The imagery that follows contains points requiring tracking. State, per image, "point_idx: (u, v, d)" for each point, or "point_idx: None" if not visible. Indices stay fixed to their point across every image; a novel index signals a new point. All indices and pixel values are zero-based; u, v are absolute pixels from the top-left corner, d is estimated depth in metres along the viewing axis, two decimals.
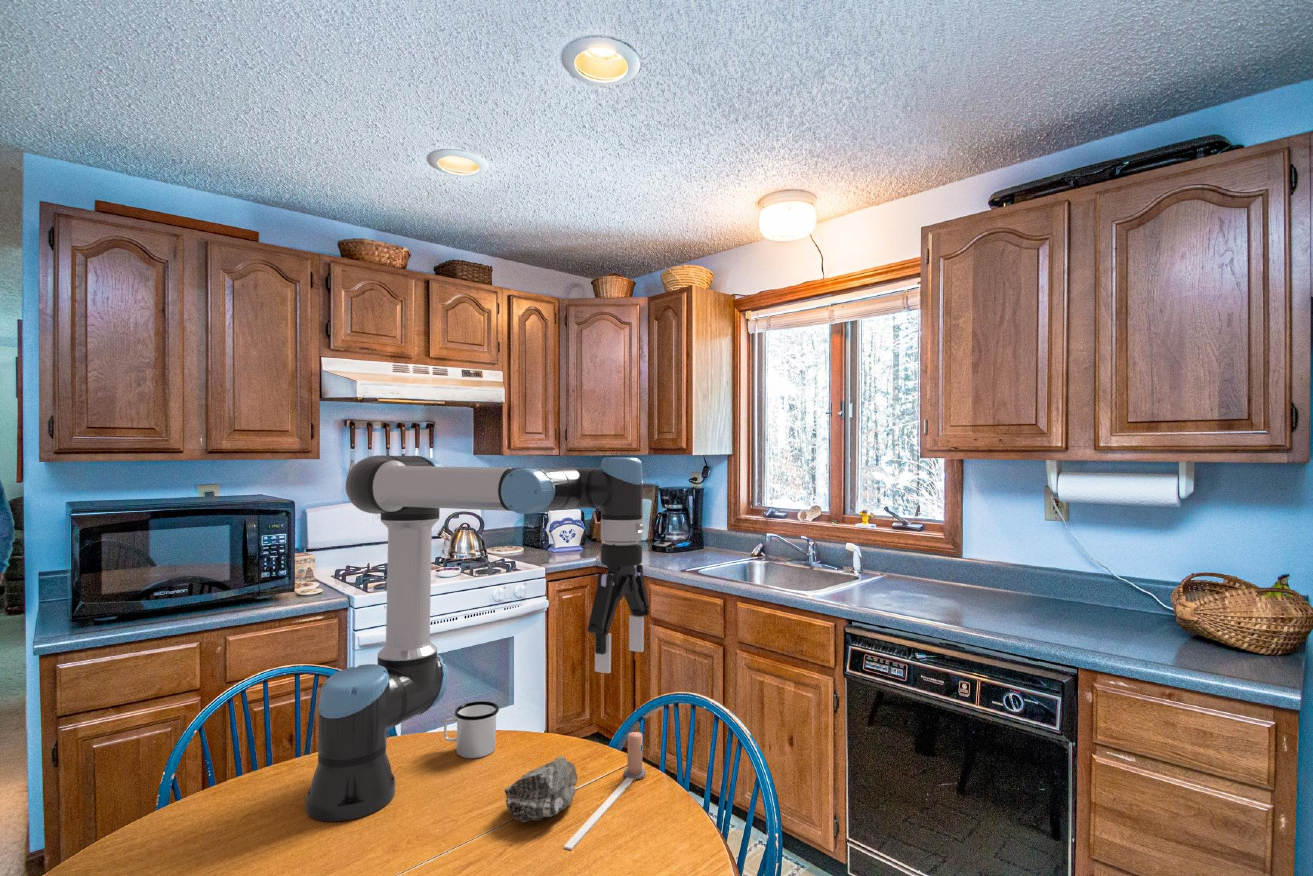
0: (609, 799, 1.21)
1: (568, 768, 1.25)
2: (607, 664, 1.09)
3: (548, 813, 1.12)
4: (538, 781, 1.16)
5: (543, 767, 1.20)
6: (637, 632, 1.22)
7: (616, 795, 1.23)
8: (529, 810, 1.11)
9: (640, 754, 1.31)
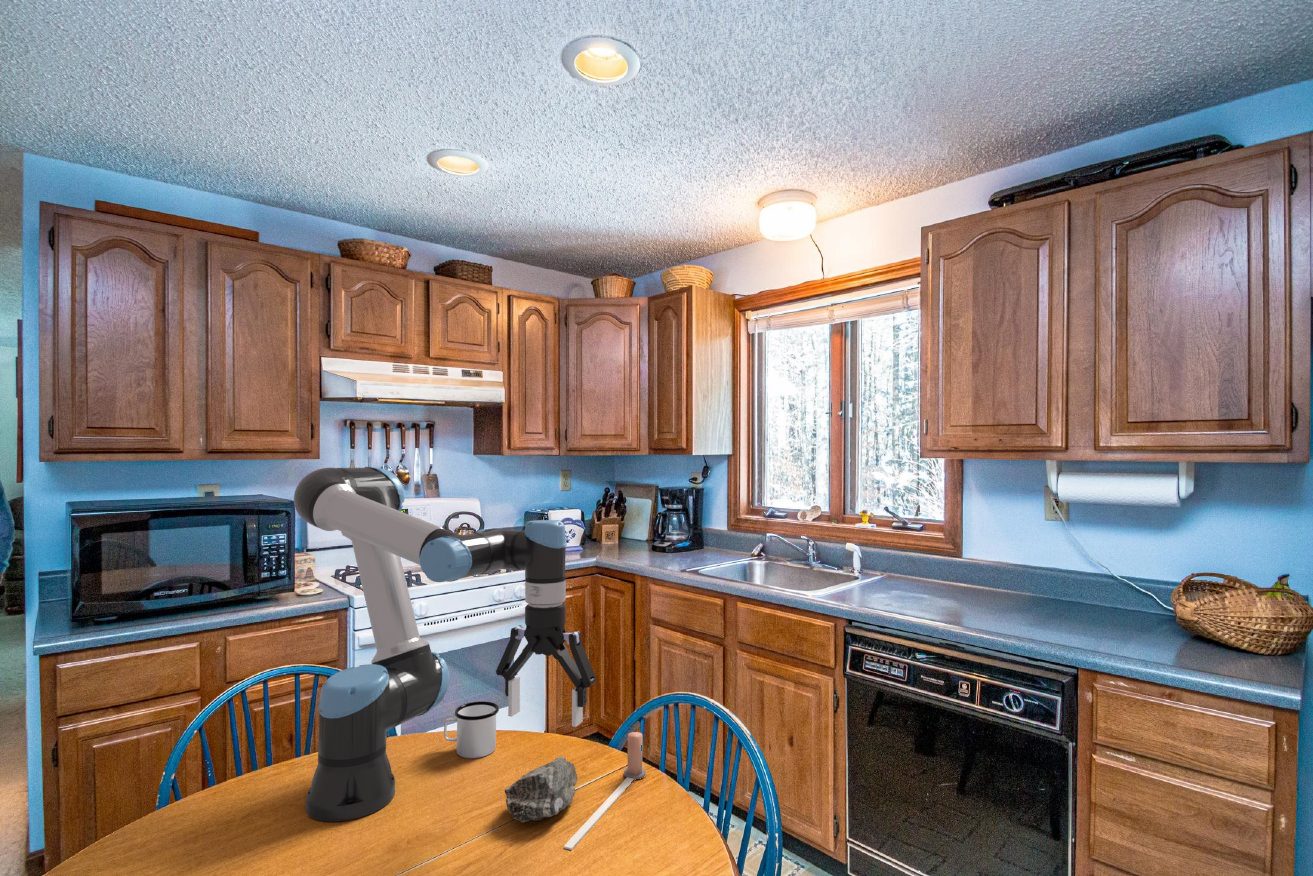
0: (609, 799, 1.21)
1: (568, 768, 1.25)
2: (508, 707, 1.22)
3: (548, 813, 1.12)
4: (538, 781, 1.16)
5: (543, 767, 1.20)
6: None
7: (616, 795, 1.23)
8: (529, 810, 1.11)
9: (640, 754, 1.31)
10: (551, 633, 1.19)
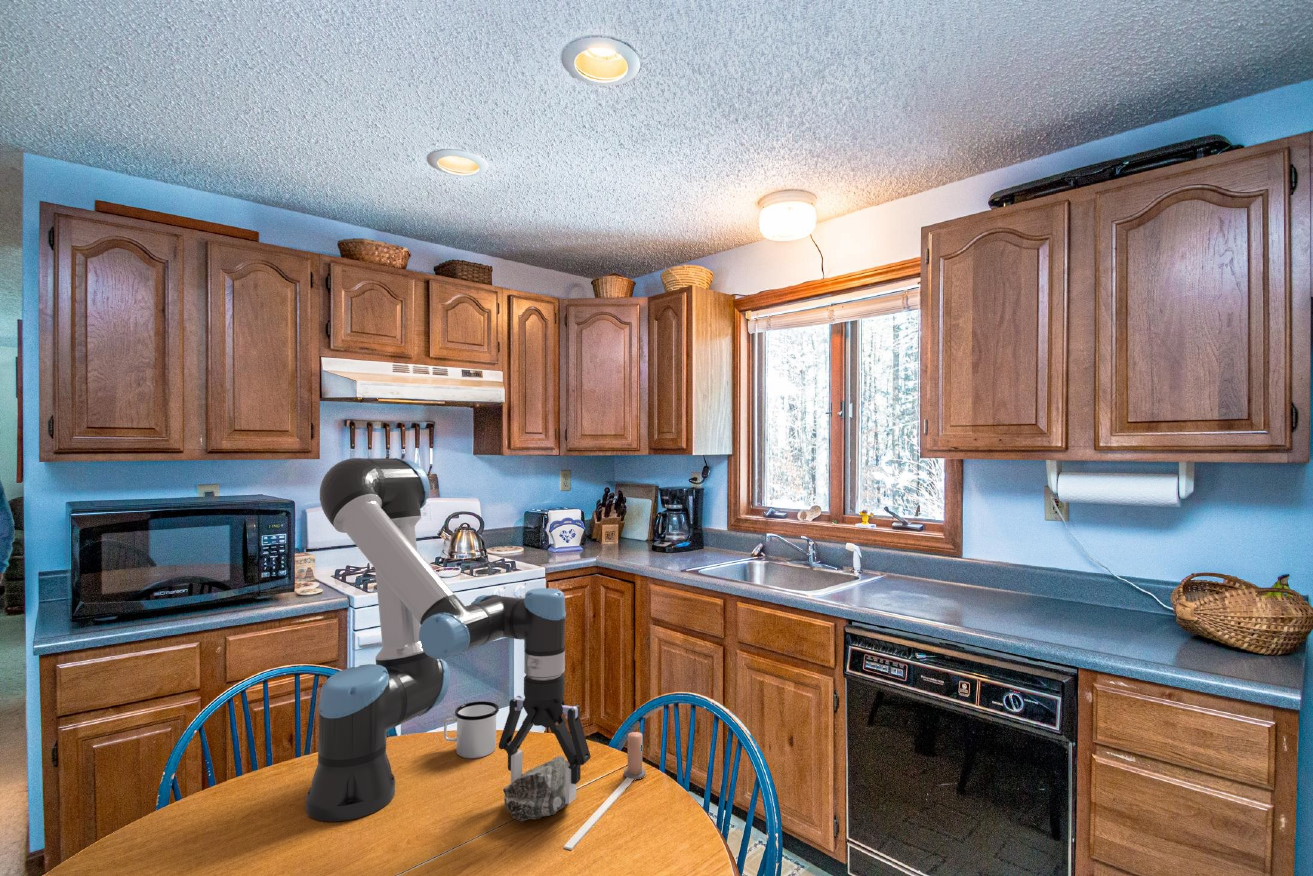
0: (609, 799, 1.21)
1: None
2: (511, 782, 1.21)
3: (546, 812, 1.12)
4: (536, 781, 1.16)
5: (542, 766, 1.20)
6: None
7: (616, 795, 1.23)
8: (527, 809, 1.11)
9: (640, 754, 1.31)
10: (550, 704, 1.19)
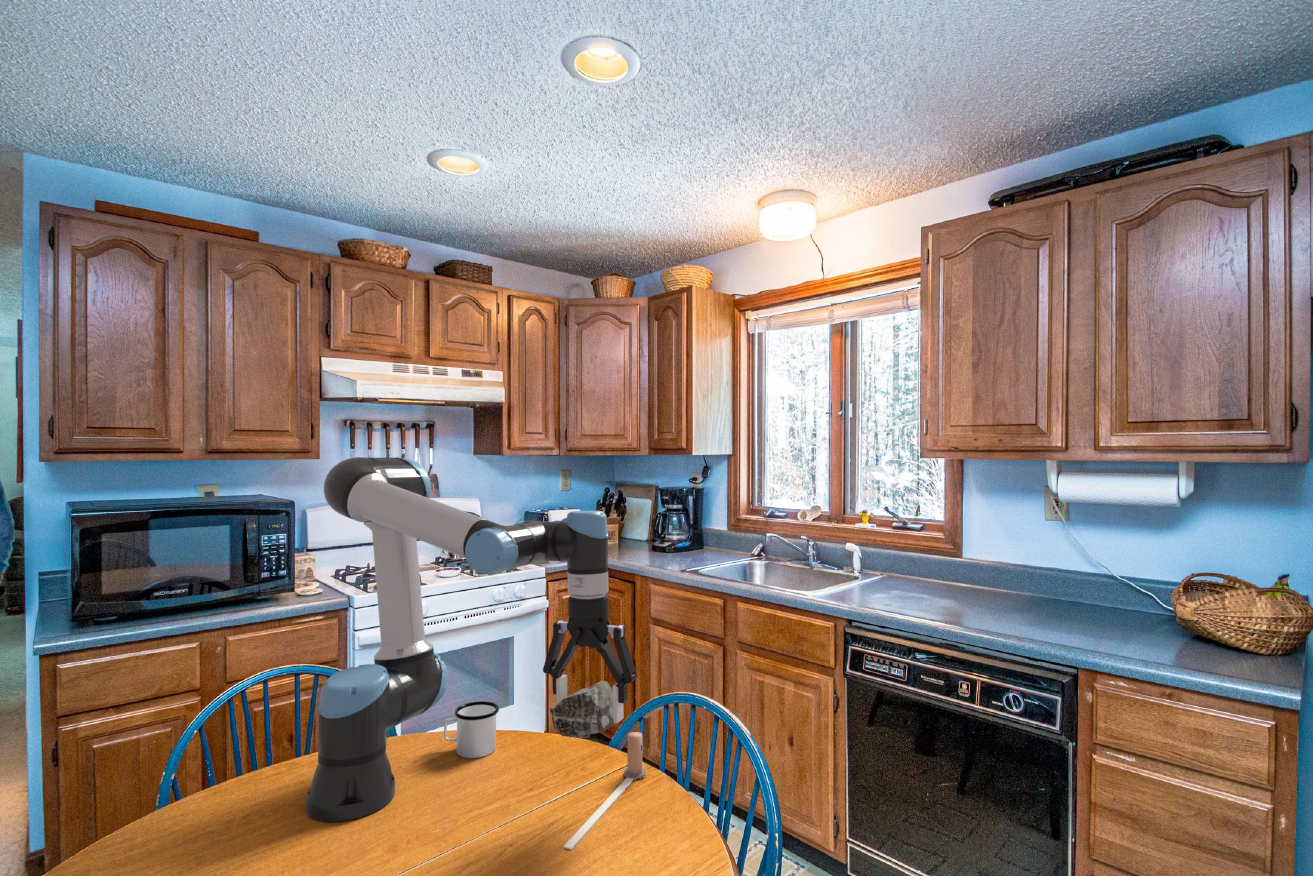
0: (609, 799, 1.21)
1: (611, 692, 1.24)
2: None
3: (596, 728, 1.10)
4: (583, 699, 1.14)
5: (587, 688, 1.19)
6: None
7: (616, 795, 1.23)
8: (576, 725, 1.10)
9: (640, 754, 1.31)
10: (595, 624, 1.17)
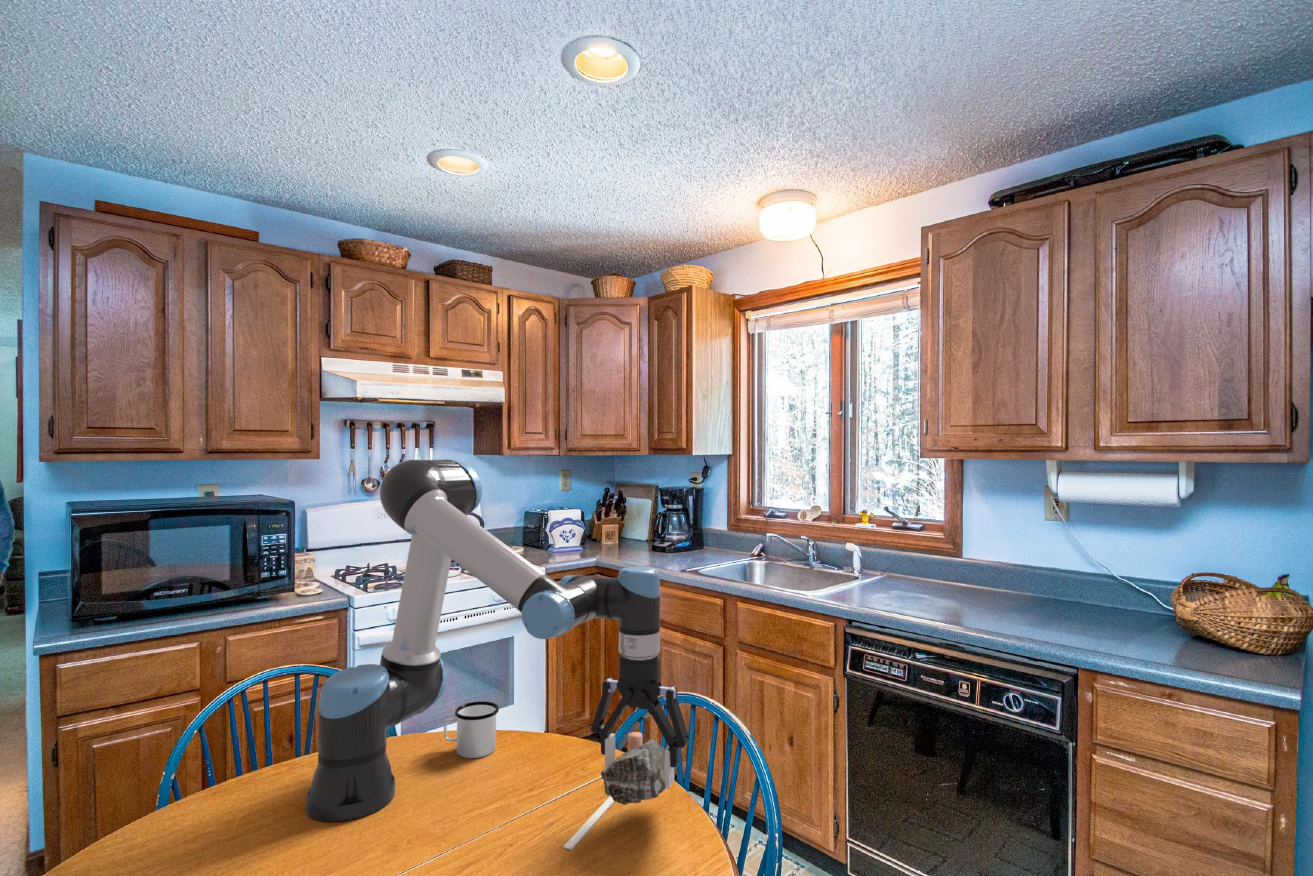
0: (609, 799, 1.21)
1: (659, 751, 1.22)
2: (605, 766, 1.17)
3: (650, 795, 1.08)
4: (635, 763, 1.12)
5: (637, 749, 1.17)
6: None
7: None
8: (630, 792, 1.08)
9: None
10: (647, 685, 1.15)
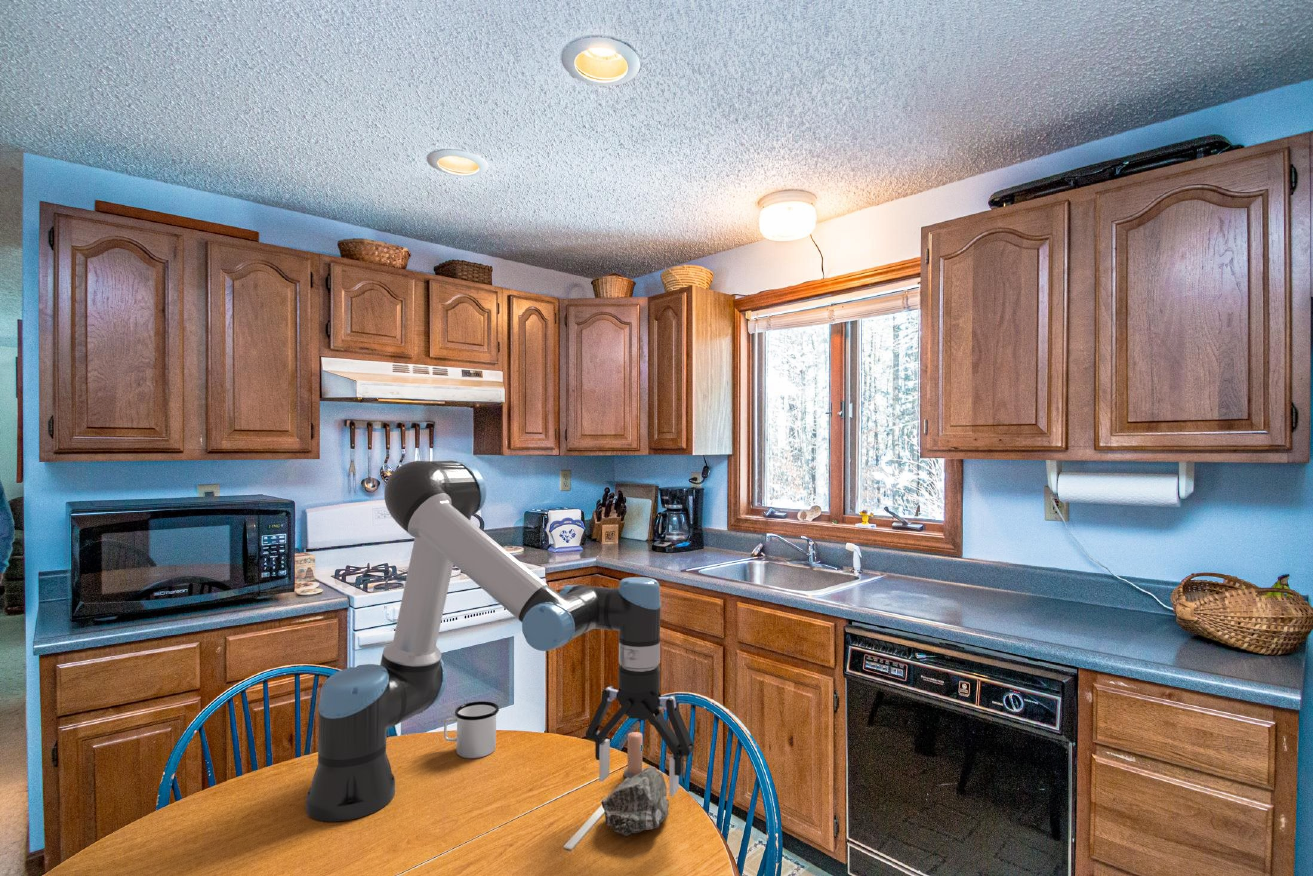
0: None
1: (658, 778, 1.22)
2: (599, 772, 1.18)
3: (651, 826, 1.08)
4: (636, 793, 1.12)
5: (637, 777, 1.16)
6: None
7: None
8: (632, 823, 1.07)
9: (640, 754, 1.31)
10: (646, 697, 1.15)
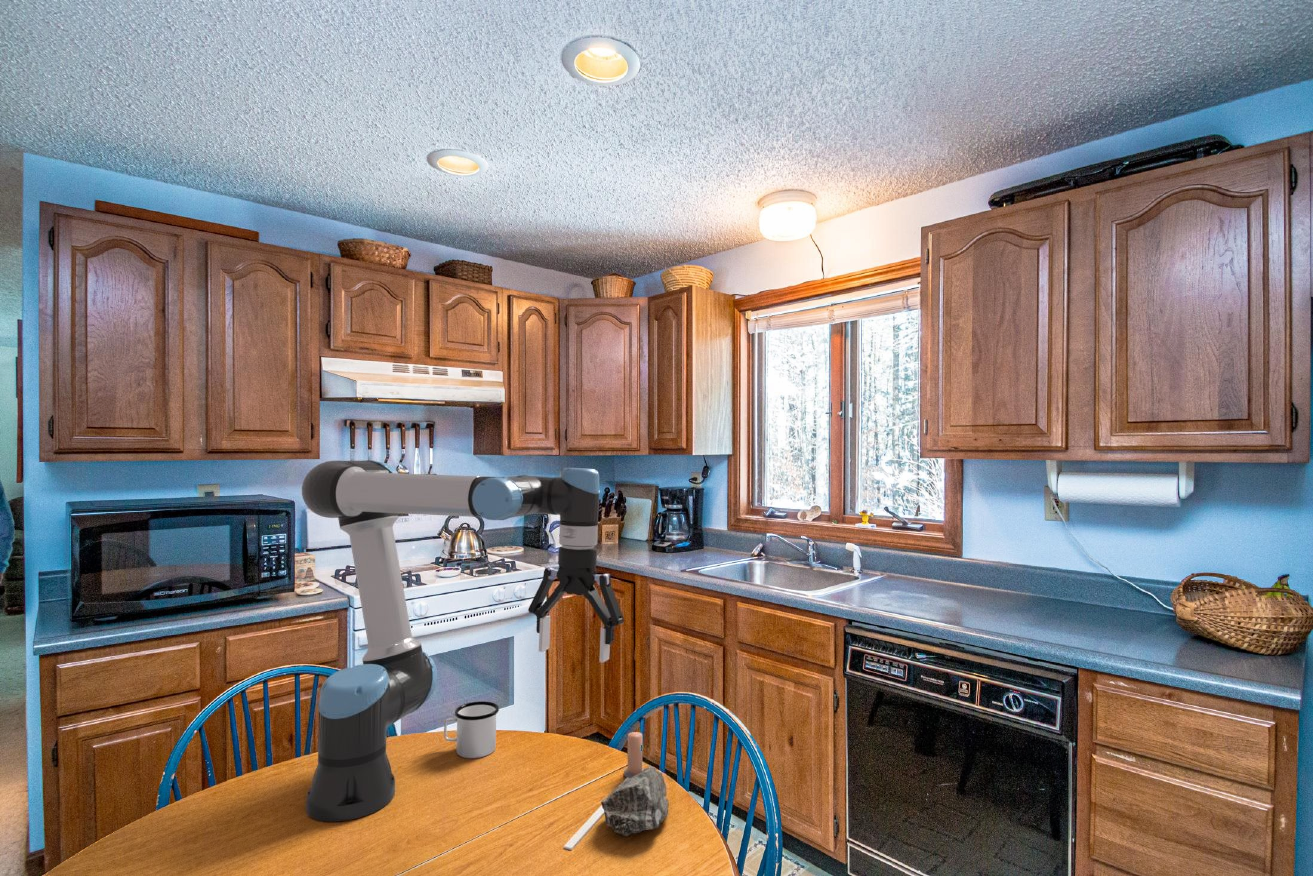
0: None
1: None
2: (539, 643, 1.28)
3: (651, 826, 1.08)
4: (636, 793, 1.12)
5: (637, 778, 1.17)
6: None
7: None
8: (631, 823, 1.07)
9: (640, 754, 1.31)
10: (582, 574, 1.25)
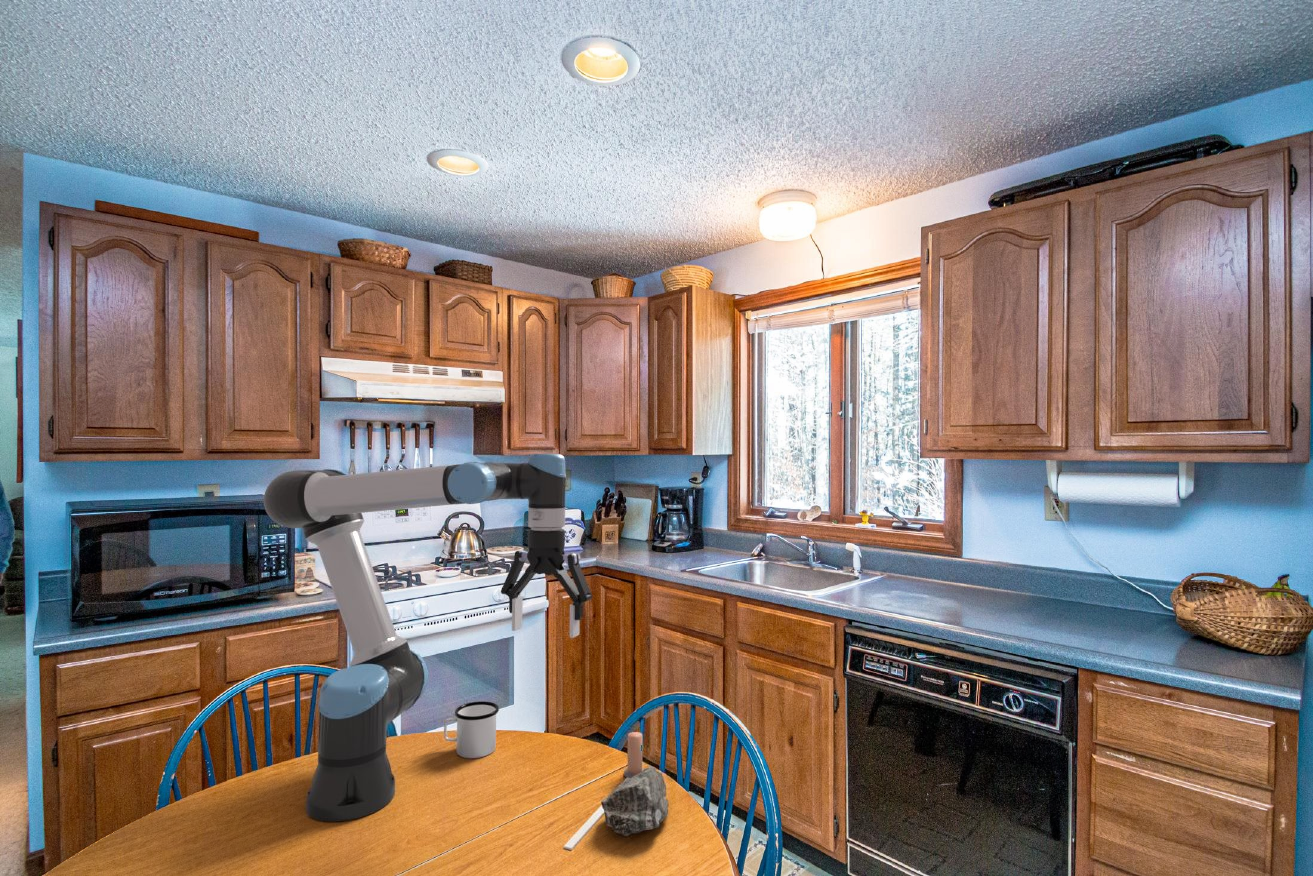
0: None
1: None
2: (512, 623, 1.34)
3: (651, 826, 1.08)
4: (636, 793, 1.12)
5: (637, 778, 1.17)
6: None
7: None
8: (632, 823, 1.07)
9: (640, 754, 1.31)
10: (551, 554, 1.31)
